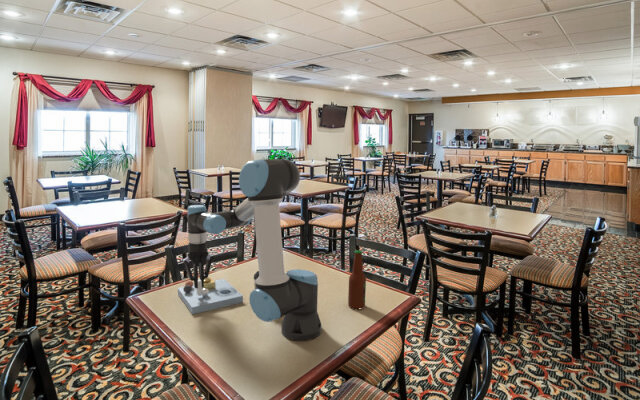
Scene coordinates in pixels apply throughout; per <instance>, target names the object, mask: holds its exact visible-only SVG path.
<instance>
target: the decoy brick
mask: <svg viewBox="0 0 640 400" xmlns="http://www.w3.org/2000/svg"><path fill="white" fill-rule="evenodd" d="M186 285H190V286H191V287H192V286H193V285H194V281H191V280H187V281H186V282H185V285H184V286H186Z"/></svg>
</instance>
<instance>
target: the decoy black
mask: <svg viewBox="0 0 640 400" xmlns="http://www.w3.org/2000/svg"><path fill="white" fill-rule="evenodd" d="M184 286H185V285H184ZM184 286H183V287H184ZM183 290H184V292H185V293H189V292H191V290H192V287H191V286H190V285H186V286H185V287H184V289H183Z"/></svg>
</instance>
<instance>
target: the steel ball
mask: <svg viewBox="0 0 640 400" xmlns="http://www.w3.org/2000/svg"><path fill="white" fill-rule="evenodd" d="M208 294H209V290H208V289H206V288H204V289H202V296H203V297H206V296H208Z"/></svg>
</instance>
